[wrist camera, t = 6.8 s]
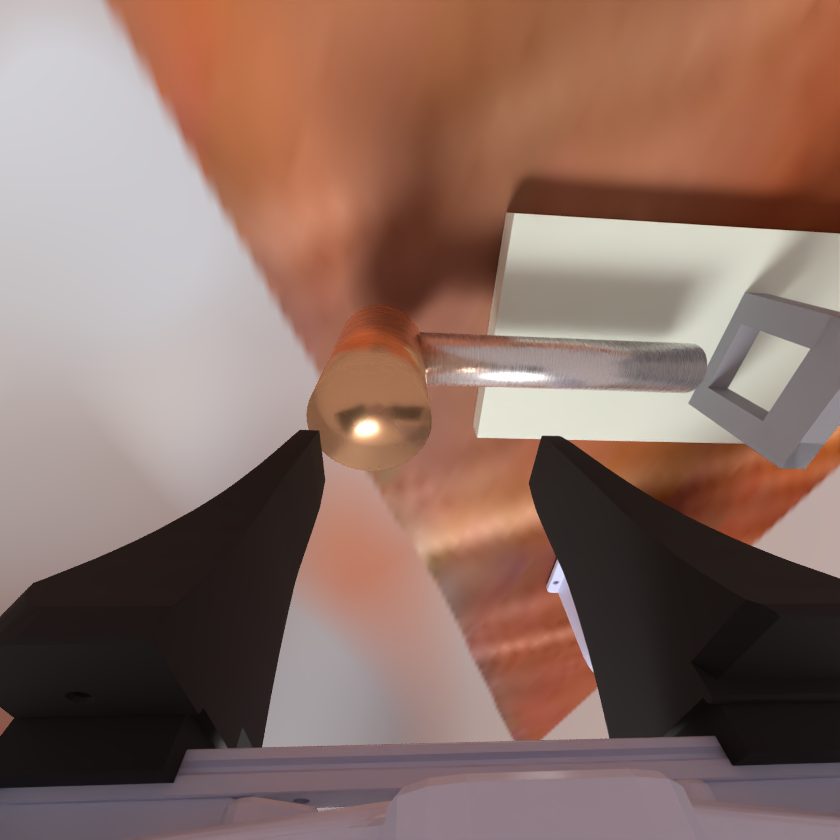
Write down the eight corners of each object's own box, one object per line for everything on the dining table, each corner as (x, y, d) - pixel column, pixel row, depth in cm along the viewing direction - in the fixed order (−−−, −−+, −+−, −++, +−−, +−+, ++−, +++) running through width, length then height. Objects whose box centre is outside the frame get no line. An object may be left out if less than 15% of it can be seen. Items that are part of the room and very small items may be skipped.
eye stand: (760, 431, 24) (888, 514, 18) (473, 424, 23) (499, 510, 17) (888, 236, 18) (1156, 255, 12) (506, 212, 17) (569, 218, 11)
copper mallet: (651, 391, 20) (764, 477, 13) (343, 381, 19) (313, 470, 12) (683, 318, 18) (834, 381, 11) (338, 303, 16) (299, 362, 10)
